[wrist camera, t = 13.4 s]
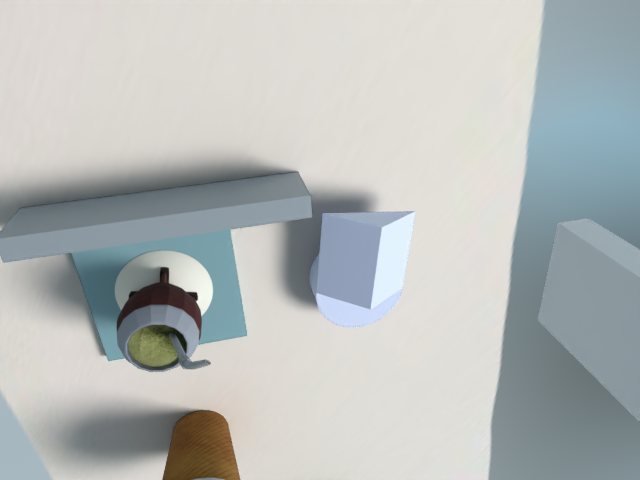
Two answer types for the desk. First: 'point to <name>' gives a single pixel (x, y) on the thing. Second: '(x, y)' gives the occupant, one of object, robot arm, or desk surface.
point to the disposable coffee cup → (201, 449)
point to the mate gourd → (160, 327)
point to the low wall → (153, 216)
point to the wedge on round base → (361, 265)
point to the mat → (184, 271)
